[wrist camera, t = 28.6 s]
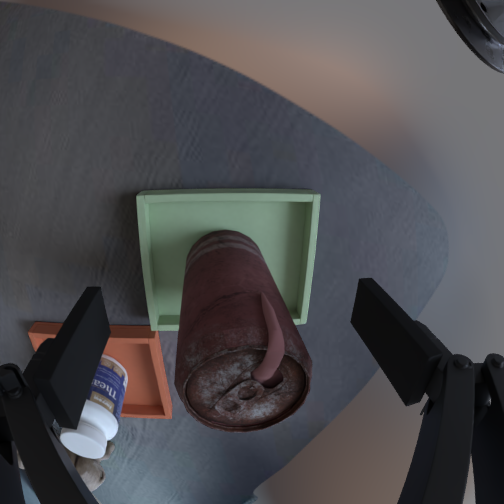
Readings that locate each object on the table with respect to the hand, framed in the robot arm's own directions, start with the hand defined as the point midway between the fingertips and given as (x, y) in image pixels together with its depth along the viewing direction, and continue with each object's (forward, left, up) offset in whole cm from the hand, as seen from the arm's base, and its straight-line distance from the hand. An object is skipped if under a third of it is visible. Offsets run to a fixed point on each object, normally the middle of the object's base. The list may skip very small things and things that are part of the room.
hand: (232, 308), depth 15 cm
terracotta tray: (+12, +14, -10) cm, 21 cm away
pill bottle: (+12, +13, -10) cm, 21 cm away
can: (0, +2, -10) cm, 10 cm away
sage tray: (0, +2, -10) cm, 10 cm away
